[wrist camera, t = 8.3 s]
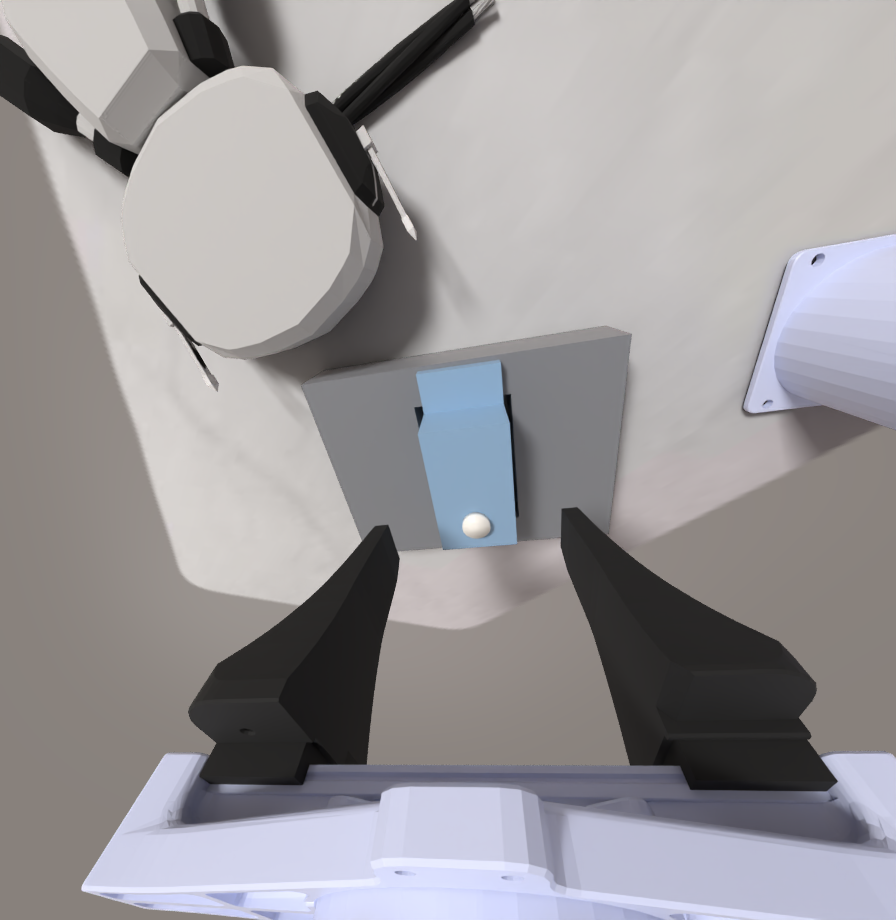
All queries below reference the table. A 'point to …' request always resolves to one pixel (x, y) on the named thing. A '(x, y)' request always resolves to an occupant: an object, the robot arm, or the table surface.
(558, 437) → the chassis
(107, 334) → the table surface
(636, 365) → the table surface
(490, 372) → the block
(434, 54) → the electrical cable
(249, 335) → the robot toy
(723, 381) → the table surface
